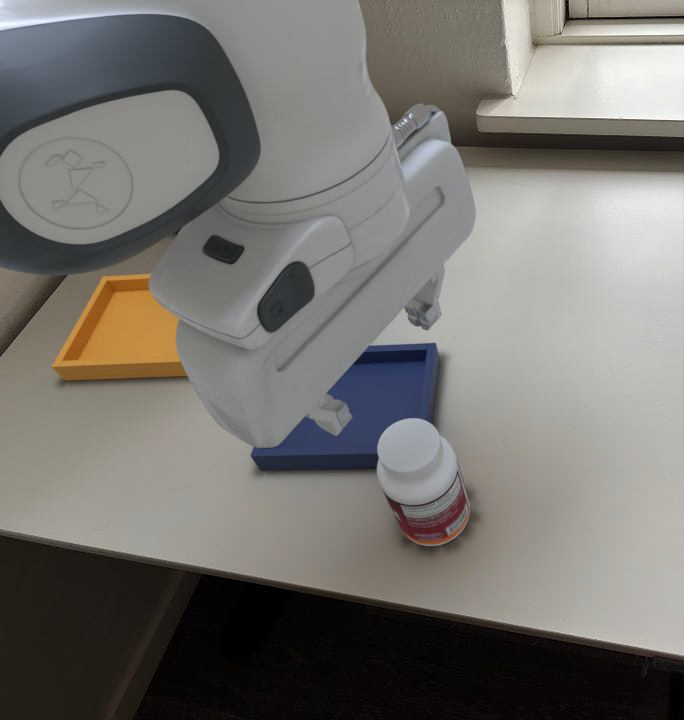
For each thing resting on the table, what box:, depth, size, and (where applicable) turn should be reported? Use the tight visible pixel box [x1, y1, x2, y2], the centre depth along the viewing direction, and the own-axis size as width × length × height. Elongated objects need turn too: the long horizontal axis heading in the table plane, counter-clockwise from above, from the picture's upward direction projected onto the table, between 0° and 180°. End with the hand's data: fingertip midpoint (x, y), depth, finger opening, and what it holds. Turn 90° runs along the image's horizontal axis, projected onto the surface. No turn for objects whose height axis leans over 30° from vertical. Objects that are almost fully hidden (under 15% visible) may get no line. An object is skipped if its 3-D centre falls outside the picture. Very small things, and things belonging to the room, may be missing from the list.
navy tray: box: [250, 342, 441, 471], centre depth 68 cm, size 16×13×2 cm
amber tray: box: [51, 273, 188, 382], centre depth 79 cm, size 16×14×2 cm
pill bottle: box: [376, 418, 471, 547], centre depth 56 cm, size 6×6×11 cm
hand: (383, 369), depth 46 cm, fingers open, 8 cm apart
